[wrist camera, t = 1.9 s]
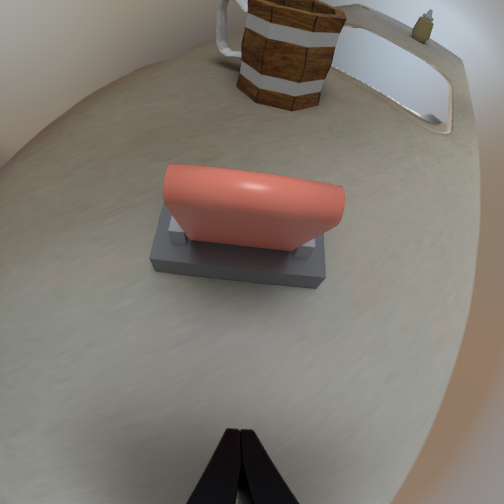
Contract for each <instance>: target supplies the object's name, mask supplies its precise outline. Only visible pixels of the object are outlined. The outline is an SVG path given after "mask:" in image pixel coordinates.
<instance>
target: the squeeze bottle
mask: <svg viewBox="0 0 504 504" xmlns="http://www.w3.org/2000/svg"><path fill="white" fill-rule="evenodd" d="M431 21H433V18H432V10H429V11H428V12H427V14H423V17H420V18H419V19H418V21H417V23H416V24H415V26H414V28H413V29H412V37H413V38H414V39H416V40H417V41H419V42H421V43H425V42H426V41H427V40H428V39H429V37H430V34H431V31H432V28H433V23H432V22H431Z"/></svg>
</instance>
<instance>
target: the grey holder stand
mask: <svg viewBox="0 0 504 504" xmlns="http://www.w3.org/2000/svg"><path fill="white" fill-rule="evenodd" d="M150 260H151V263H152V265H153V267H154V270H155V271H159V272H166V273H174V274H183V275H191V276H199V277H208V278H217V279H226V280H235V281H244V282H254V283H264V284H274V285H284V286H295V287H306V288H317V287H318V286H319V285H320V283H321V282H322V281H323V280H324V279H325V278H326V272H325V252H324V236H323V234H321V235H319V236H318V237H316V238H314V239H312V240H311V241H309V242H307V243H305V244H303V245H302V246H300V247H298V248H296V249H294V250H293V251H283V250H274V249H265V248H257V247H248V246H239V245H230V244H221V243H212V242H203V241H194V240H190V239H189V238H188V237H187V235H186V234H185V232H184V231H183V230H182V228H181V227H180V226H179V224H178V223H177V221H176V220H175V218H174V217H173V216H172V214H171V213H170V211H169V210H168V209H167V207H166V206H165V204H163V208H162V211H161V215H160V219H159V222H158V226H157V230H156V234H155V238H154V242H153V246H152V250H151V255H150Z"/></svg>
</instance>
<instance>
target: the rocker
mask: <svg viewBox="0 0 504 504" xmlns="http://www.w3.org/2000/svg"><path fill="white" fill-rule="evenodd" d="M163 199H164V204H165V206H166V207H167V209H168V210H169V211H170V213H171V214H172V216H173V217H174V218H175V220H176V221H177V223H178V224H179V226H180V227H181V228H182V230H183V231H184V232H185V234H186V235H187V237H188V238H189V239H190V240H194V241H203V242H212V243H221V244H230V245H239V246H248V247H257V248H265V249H274V250H283V251H293V250H294V249H296V248H298V247H300V246H302V245H303V244H305V243H307V242H309V241H311V240H312V239H314V238H316V237H318V236H319V235H321V234H323V233H325V232H326V231H328V230H330V229H332V228H333V227H335V226H337V225H338V224H339V222H340V220H341V218H342V215H343V211H344V205H345V194H344V190H343V187H342V186H340V185H335V184H329V183H324V182H318V181H312V180H306V179H300V178H294V177H287V176H281V175H274V174H267V173H259V172H251V171H243V170H235V169H226V168H216V167H206V166H195V165H183V164H170V165H169V166H168V168H167V171H166V175H165V179H164V188H163Z"/></svg>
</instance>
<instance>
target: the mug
mask: <svg viewBox="0 0 504 504" xmlns="http://www.w3.org/2000/svg"><path fill="white" fill-rule="evenodd" d="M234 1H235V2H237V4H238V5H239V7H240V8H241V10H242V11H244V13H246V14H247V21H246V28H245V32H244V36H243V40H242V51H232V50H231V49H229V48H228V46H227V42H226V29H227V5H228V2H229V0H220V1H219V4H218V6H217V31H216V42H217V45H218V48H219V51H220V52H221V53H222V54H223V55H225V56H226V57H229V58H240V59H241V69H240V75H239V79H238V82H237V86H236V87H237V88H239V89H240V90H241V91H242V92H243V93H245V94H246V95H247V96H248V97H249V98H250V99H252V100H253V101H254V102H255V103H258V104H263V105H267V106H272V107H276V108H281V109H285V110H289V111H295V110H300V109H304V108H308V107H313V106H317V105H318V104H319V99H320V93H321V89H322V86H323V83H324V80H325V78H326V76H327V73H328V71H329V69H330V67H331V64H332V60H333V55H334V50H335V46H336V43H337V40H338V37H339V34H340V32H341V29H342V27H343V25H344V23H345V21H346V16H345V13H344V12H343V11H341V10H339V9H337V8H335V7H332V6H330V5H328V4H325V3H323V2H321V1H318V0H248V1H247V0H234Z"/></svg>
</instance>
